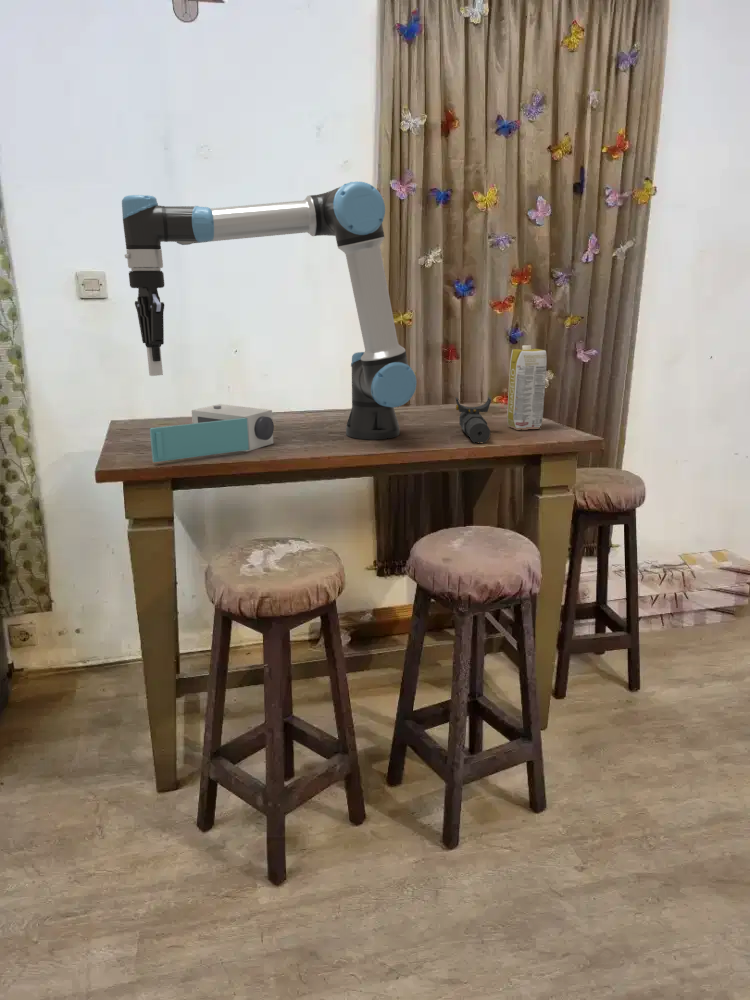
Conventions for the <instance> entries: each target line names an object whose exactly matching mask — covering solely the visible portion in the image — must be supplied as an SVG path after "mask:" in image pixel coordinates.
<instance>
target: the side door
mask: <svg viewBox="0 0 750 1000" xmlns="http://www.w3.org/2000/svg"><path fill="white" fill-rule="evenodd" d="M149 439H150V447H151V459H152V462H153V463H157V462H166V461H174V460H181V459H189V458H195V457H205V456H212V455H220V454H227V453H234V452H244V451H243V450H249V449H250V443H249V424H248V418H239V419H230V420H221V421H211V422H202V423H193V422H192V423H187V424H185V423H184V424H178V425H177V424H175V425H166V426H157V427H150V428H149Z"/></svg>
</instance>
